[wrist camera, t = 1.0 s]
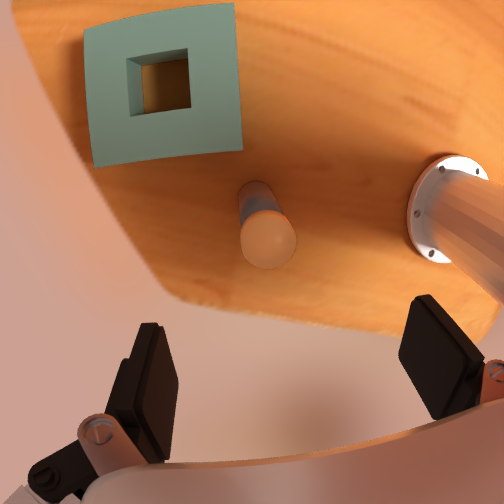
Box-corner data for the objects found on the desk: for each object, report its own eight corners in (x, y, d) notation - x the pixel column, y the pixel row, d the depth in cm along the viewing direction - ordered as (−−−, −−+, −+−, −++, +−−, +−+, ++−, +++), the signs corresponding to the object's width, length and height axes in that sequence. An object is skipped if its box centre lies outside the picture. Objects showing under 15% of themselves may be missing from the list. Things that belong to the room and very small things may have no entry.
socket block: (233, 18, 23) (234, 2, 18) (241, 144, 28) (243, 150, 23) (103, 39, 22) (83, 29, 18) (112, 160, 27) (94, 168, 23)
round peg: (273, 178, 29) (296, 215, 19) (274, 214, 30) (296, 266, 20) (235, 181, 29) (239, 219, 19) (238, 216, 30) (243, 271, 20)
